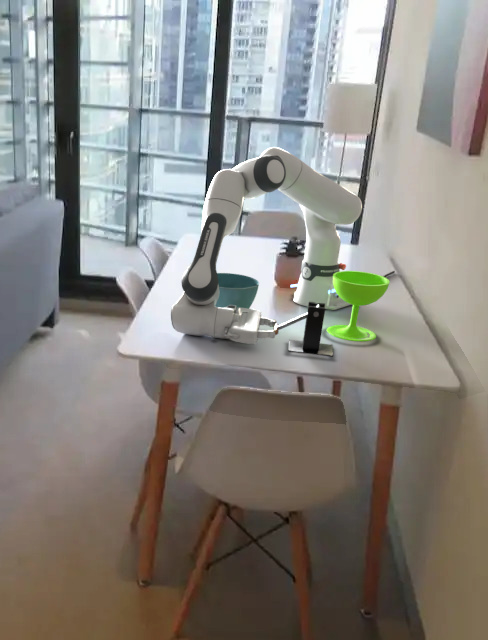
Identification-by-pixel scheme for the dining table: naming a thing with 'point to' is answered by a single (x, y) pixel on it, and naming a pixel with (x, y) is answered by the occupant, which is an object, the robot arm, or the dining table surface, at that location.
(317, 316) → the bracket
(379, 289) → the wineglass
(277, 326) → the lever
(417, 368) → the dining table surface
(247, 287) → the teal ceramic bowl
